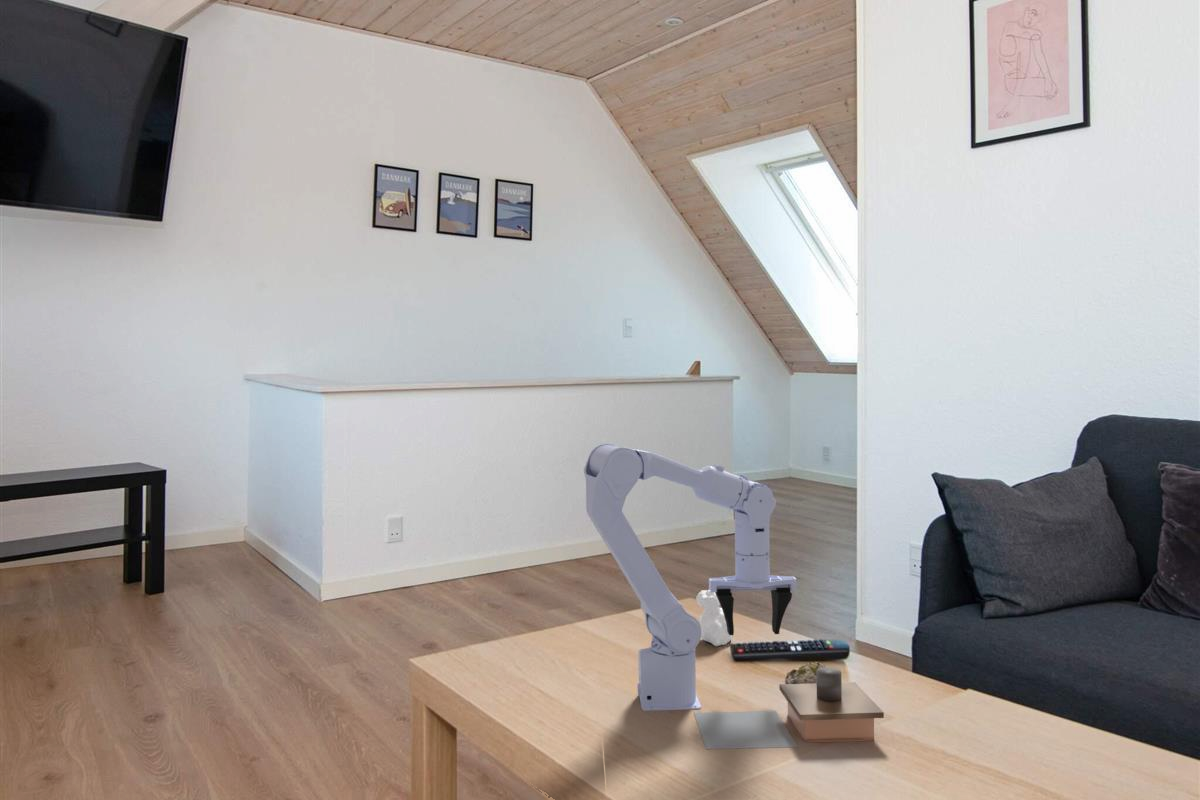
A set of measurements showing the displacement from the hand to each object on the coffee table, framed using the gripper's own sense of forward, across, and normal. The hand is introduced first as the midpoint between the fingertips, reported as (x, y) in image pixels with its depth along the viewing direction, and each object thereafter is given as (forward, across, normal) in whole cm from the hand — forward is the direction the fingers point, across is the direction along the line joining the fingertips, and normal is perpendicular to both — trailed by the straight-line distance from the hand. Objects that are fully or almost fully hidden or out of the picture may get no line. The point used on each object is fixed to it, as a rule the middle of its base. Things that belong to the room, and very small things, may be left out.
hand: (753, 632), depth 141 cm
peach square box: (+10, +8, -16) cm, 20 cm away
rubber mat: (+10, -5, -16) cm, 19 cm away
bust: (+10, -2, +28) cm, 30 cm away
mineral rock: (+10, +10, +3) cm, 15 cm away
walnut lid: (+6, +8, -16) cm, 19 cm away
